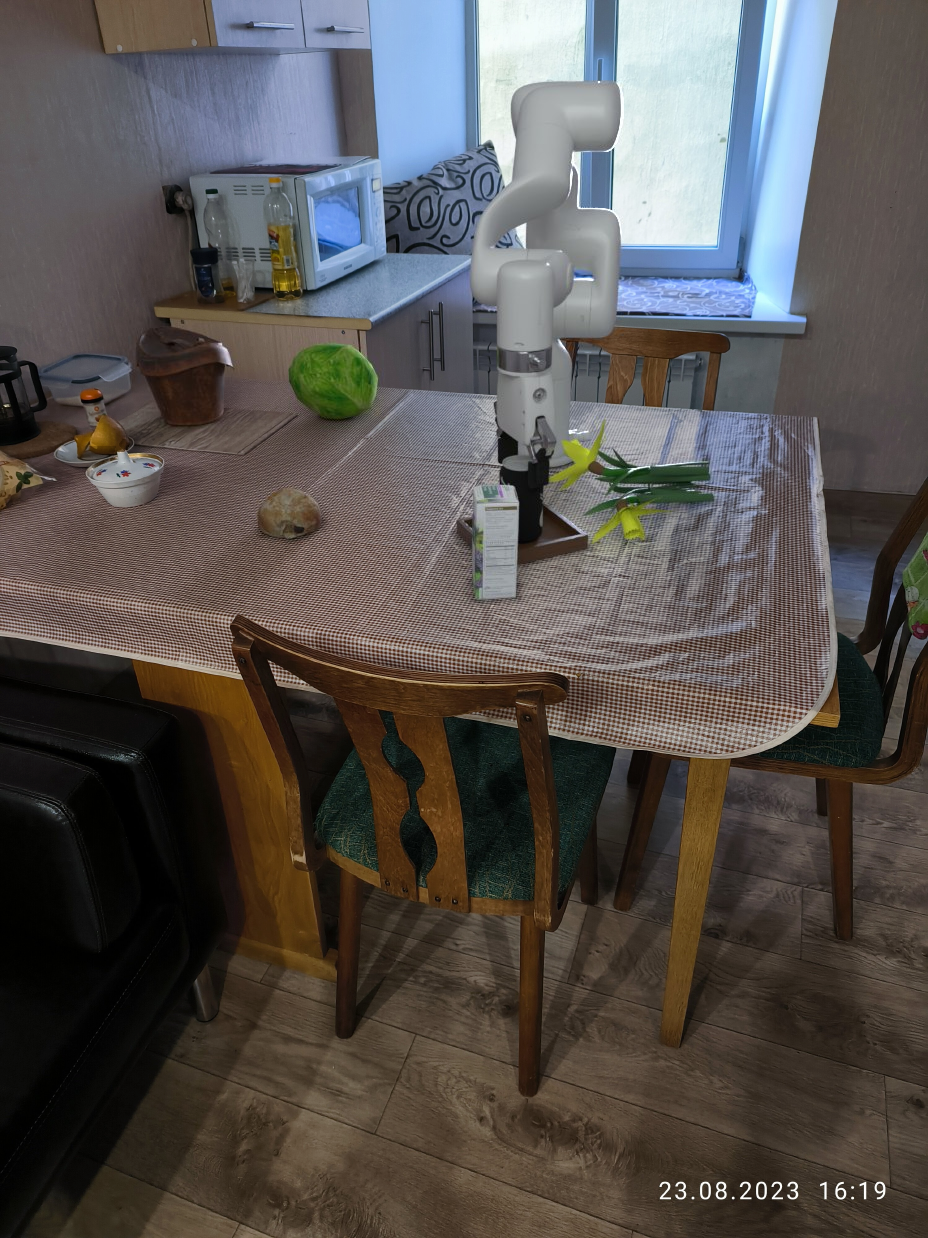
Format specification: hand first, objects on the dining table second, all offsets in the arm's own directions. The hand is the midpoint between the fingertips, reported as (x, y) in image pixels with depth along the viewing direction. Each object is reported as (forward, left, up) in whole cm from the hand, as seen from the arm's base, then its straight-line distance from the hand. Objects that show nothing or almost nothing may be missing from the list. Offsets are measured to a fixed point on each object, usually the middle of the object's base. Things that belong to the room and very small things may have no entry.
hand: (522, 473), depth 127 cm
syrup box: (+11, +12, -11) cm, 20 cm away
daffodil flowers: (-20, +3, -11) cm, 23 cm away
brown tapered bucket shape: (+36, -83, -11) cm, 92 cm away
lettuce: (+8, -70, -11) cm, 72 cm away
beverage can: (0, +1, -10) cm, 10 cm away
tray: (0, +1, -11) cm, 11 cm away
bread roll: (+31, -20, -11) cm, 39 cm away
